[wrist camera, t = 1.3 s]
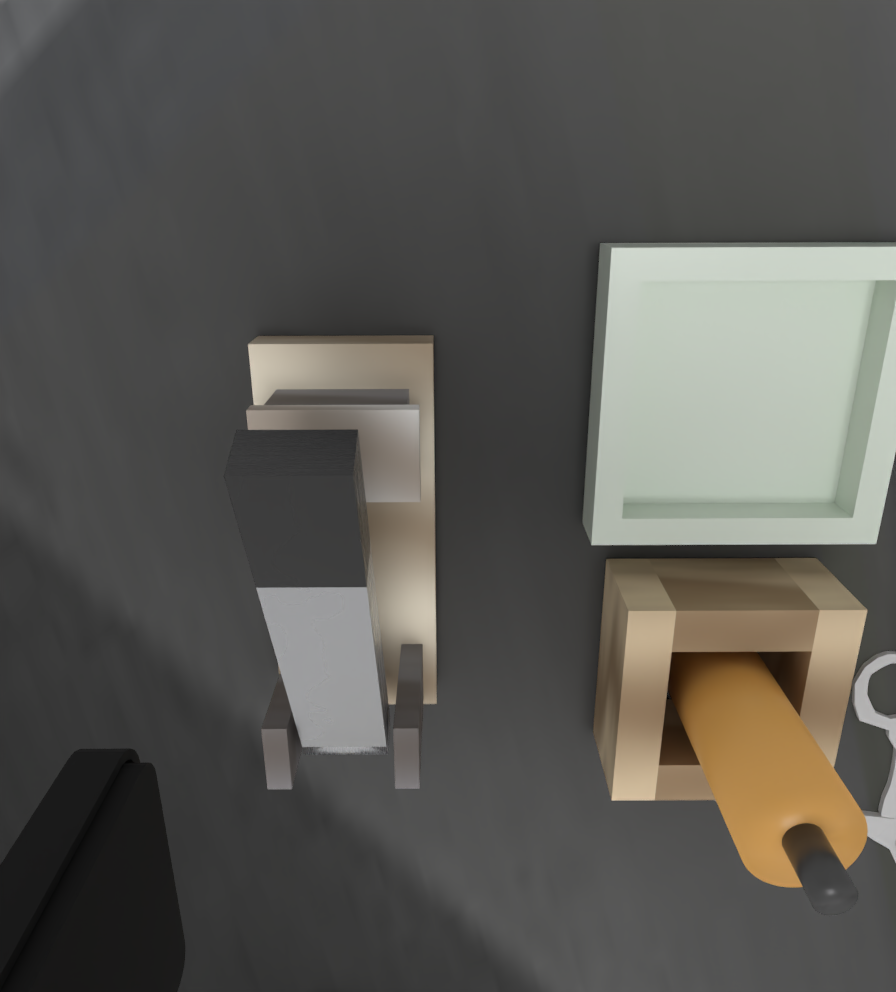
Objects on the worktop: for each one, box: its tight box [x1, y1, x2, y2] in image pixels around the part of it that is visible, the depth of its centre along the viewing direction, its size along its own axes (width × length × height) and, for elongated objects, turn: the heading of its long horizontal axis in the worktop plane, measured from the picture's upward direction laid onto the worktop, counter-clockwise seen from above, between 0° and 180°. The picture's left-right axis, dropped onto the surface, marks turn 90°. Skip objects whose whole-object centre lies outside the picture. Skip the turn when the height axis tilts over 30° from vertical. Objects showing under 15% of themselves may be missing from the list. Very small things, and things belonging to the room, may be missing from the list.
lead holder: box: [593, 558, 867, 800], centre depth 30 cm, size 8×8×4 cm
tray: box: [582, 242, 896, 545], centre depth 27 cm, size 10×10×2 cm
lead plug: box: [667, 652, 868, 915], centre depth 26 cm, size 4×4×12 cm
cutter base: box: [246, 335, 437, 789], centre depth 27 cm, size 14×6×6 cm, turn 0°
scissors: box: [715, 651, 896, 862], centre depth 36 cm, size 11×1×20 cm
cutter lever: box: [224, 429, 390, 755], centre depth 23 cm, size 14×3×2 cm, turn 0°
